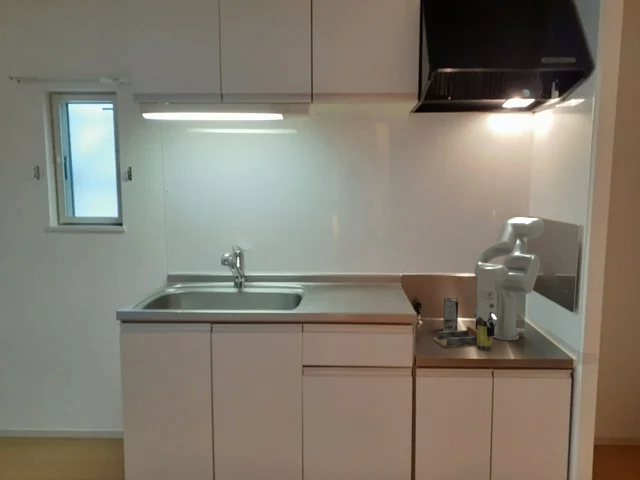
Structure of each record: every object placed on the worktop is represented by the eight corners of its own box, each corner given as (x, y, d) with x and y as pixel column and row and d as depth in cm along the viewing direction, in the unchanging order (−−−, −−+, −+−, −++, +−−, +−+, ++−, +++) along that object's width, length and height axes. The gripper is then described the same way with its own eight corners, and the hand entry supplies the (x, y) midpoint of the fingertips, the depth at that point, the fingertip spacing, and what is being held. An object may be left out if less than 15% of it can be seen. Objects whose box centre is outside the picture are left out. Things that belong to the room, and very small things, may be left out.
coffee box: (457, 334, 229) (458, 302, 227) (443, 334, 230) (444, 301, 229) (456, 329, 238) (457, 297, 236) (442, 328, 239) (443, 297, 237)
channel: (469, 337, 225) (469, 325, 225) (481, 345, 213) (482, 333, 213) (433, 339, 222) (433, 327, 222) (444, 347, 210) (444, 335, 210)
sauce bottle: (490, 352, 205) (492, 307, 203) (475, 349, 208) (476, 305, 206) (492, 347, 211) (494, 303, 208) (478, 345, 214) (479, 302, 211)
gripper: (504, 298, 199) (503, 338, 201) (484, 289, 216) (482, 326, 218) (488, 299, 198) (486, 339, 199) (468, 290, 214) (467, 327, 216)
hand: (484, 332), depth 209 cm, fingers open, 9 cm apart
